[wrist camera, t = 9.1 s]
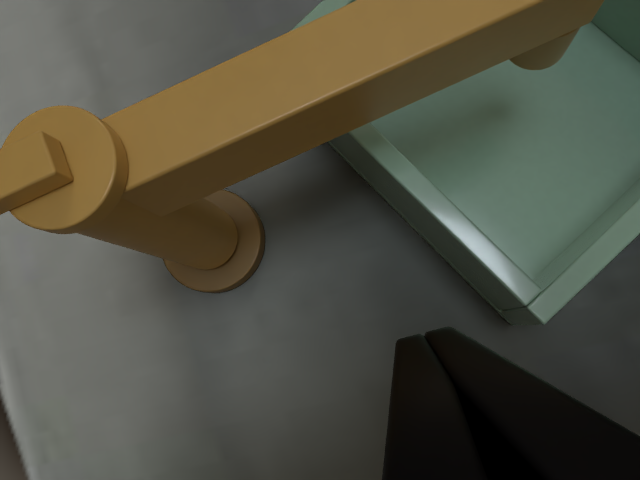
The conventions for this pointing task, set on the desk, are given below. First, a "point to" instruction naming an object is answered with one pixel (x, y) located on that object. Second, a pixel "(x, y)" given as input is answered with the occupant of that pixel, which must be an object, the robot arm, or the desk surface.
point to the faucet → (259, 118)
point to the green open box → (519, 167)
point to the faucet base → (242, 257)
